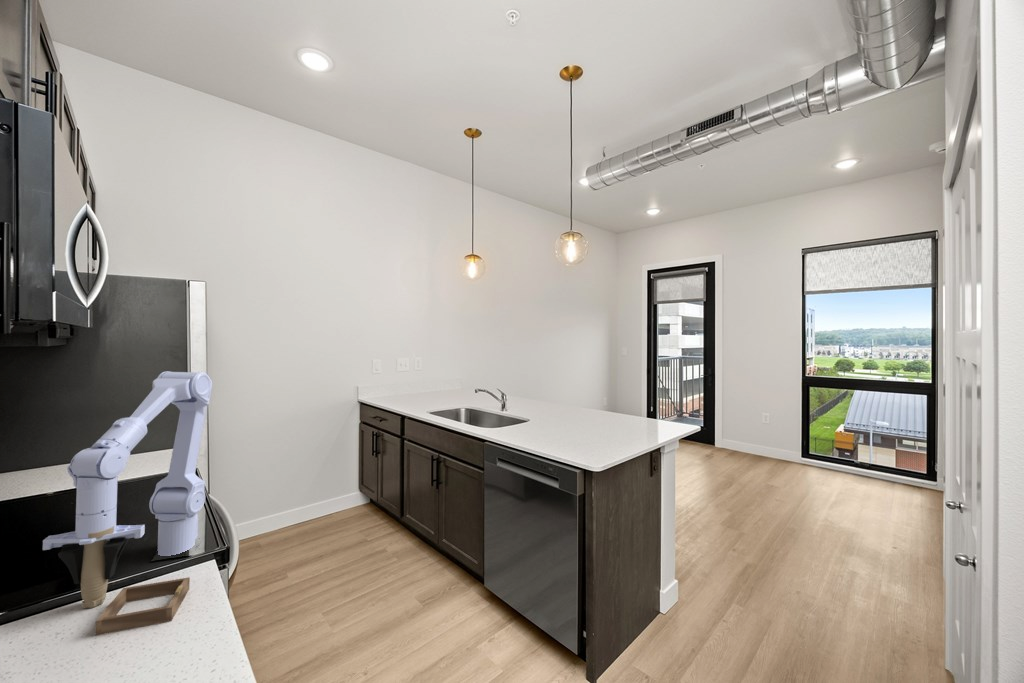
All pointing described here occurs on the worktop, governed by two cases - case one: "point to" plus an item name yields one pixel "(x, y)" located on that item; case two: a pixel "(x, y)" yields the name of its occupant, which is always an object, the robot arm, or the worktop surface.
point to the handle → (94, 571)
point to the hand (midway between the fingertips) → (94, 579)
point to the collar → (146, 617)
